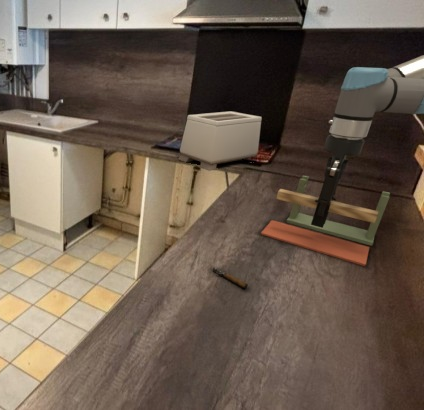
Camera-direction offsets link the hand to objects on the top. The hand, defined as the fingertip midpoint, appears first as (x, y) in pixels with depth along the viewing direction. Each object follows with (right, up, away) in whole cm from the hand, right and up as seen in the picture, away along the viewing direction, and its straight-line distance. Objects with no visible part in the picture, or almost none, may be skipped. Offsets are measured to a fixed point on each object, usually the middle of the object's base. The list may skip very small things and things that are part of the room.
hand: (318, 223), depth 95 cm
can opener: (-30, -12, -15) cm, 35 cm away
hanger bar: (0, +4, -2) cm, 4 cm away
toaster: (+1, +26, +73) cm, 78 cm away
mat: (0, -5, +2) cm, 5 cm away
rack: (+9, -2, +9) cm, 13 cm away
